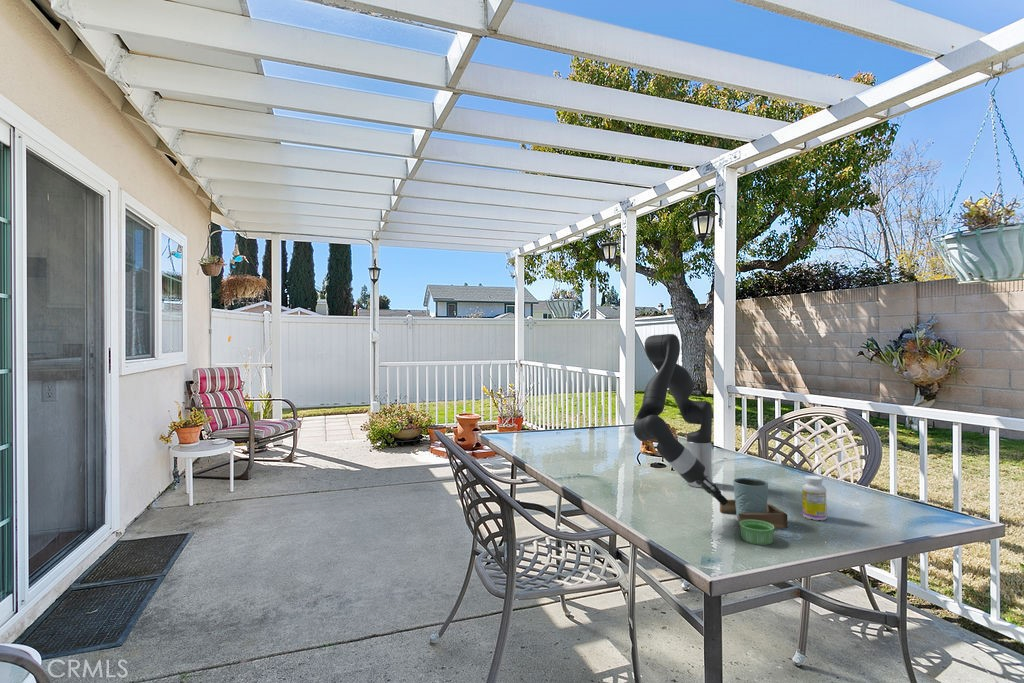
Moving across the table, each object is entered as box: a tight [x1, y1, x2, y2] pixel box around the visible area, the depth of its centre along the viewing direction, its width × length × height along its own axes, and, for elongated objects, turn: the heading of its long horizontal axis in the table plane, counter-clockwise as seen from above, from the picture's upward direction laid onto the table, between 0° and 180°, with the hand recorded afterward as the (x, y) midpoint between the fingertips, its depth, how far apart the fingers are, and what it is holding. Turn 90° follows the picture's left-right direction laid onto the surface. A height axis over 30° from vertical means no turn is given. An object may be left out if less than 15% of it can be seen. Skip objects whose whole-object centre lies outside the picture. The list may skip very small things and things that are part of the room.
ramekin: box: [738, 519, 775, 546], centre depth 144 cm, size 9×9×4 cm
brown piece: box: [719, 499, 789, 529], centre depth 161 cm, size 15×14×4 cm
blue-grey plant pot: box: [732, 477, 769, 521], centre depth 161 cm, size 10×10×12 cm
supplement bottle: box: [801, 475, 828, 521], centre depth 162 cm, size 7×7×13 cm
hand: (725, 502), depth 161 cm, fingers closed
